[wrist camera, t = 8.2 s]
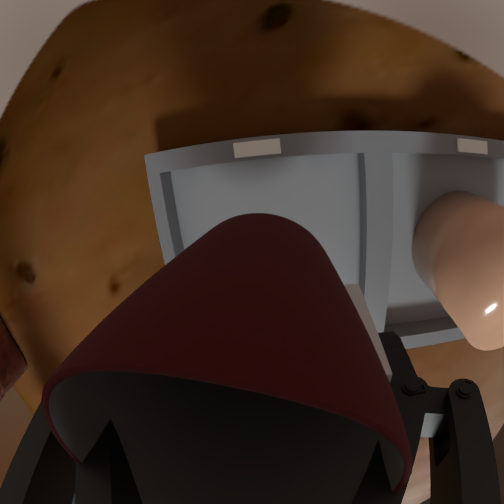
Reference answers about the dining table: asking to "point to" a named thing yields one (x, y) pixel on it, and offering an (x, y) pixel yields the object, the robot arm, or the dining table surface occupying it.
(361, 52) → the dining table surface
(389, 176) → the holder
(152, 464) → the mug
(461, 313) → the peach rounded cylinder
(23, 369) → the brown leather pouch
